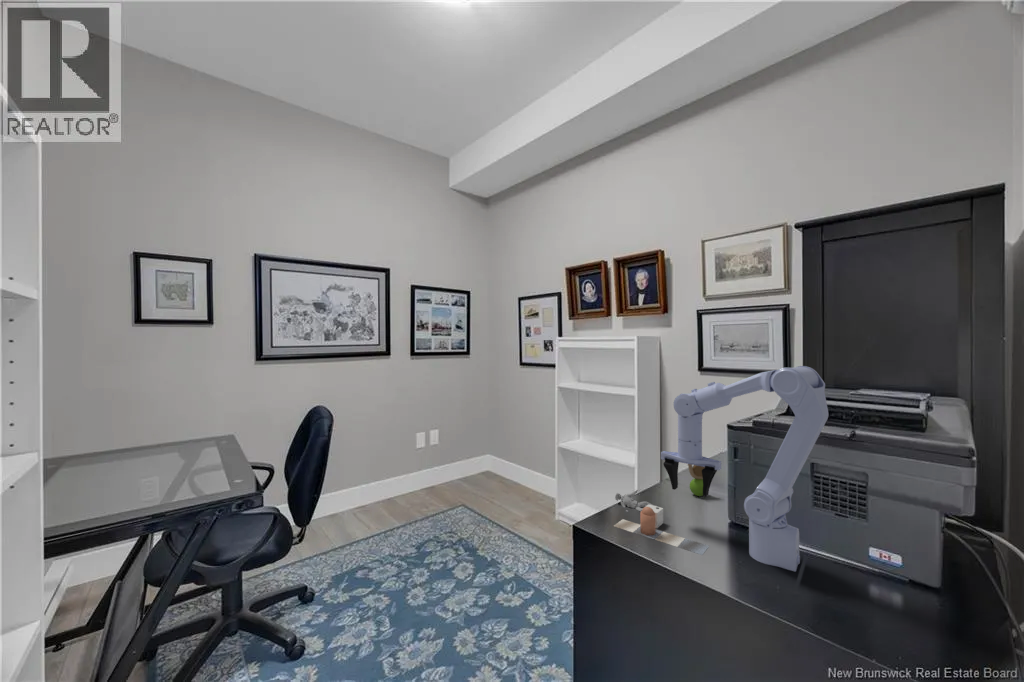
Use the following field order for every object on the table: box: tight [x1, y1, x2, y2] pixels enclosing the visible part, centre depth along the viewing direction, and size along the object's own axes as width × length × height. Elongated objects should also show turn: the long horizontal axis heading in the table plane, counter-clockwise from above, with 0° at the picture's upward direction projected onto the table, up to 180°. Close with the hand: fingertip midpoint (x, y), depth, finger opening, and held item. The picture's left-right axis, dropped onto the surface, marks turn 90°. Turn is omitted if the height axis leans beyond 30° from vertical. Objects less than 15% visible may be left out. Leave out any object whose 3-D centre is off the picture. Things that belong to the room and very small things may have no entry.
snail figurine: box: [687, 464, 705, 497], centre depth 130 cm, size 5×6×12 cm
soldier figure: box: [614, 489, 659, 512], centre depth 119 cm, size 8×5×12 cm
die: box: [645, 504, 664, 529], centre depth 108 cm, size 4×4×4 cm
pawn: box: [639, 506, 657, 535], centre depth 103 cm, size 4×4×6 cm
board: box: [613, 518, 710, 556], centre depth 104 cm, size 22×12×1 cm, turn 49°
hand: (689, 491), depth 106 cm, fingers open, 7 cm apart
